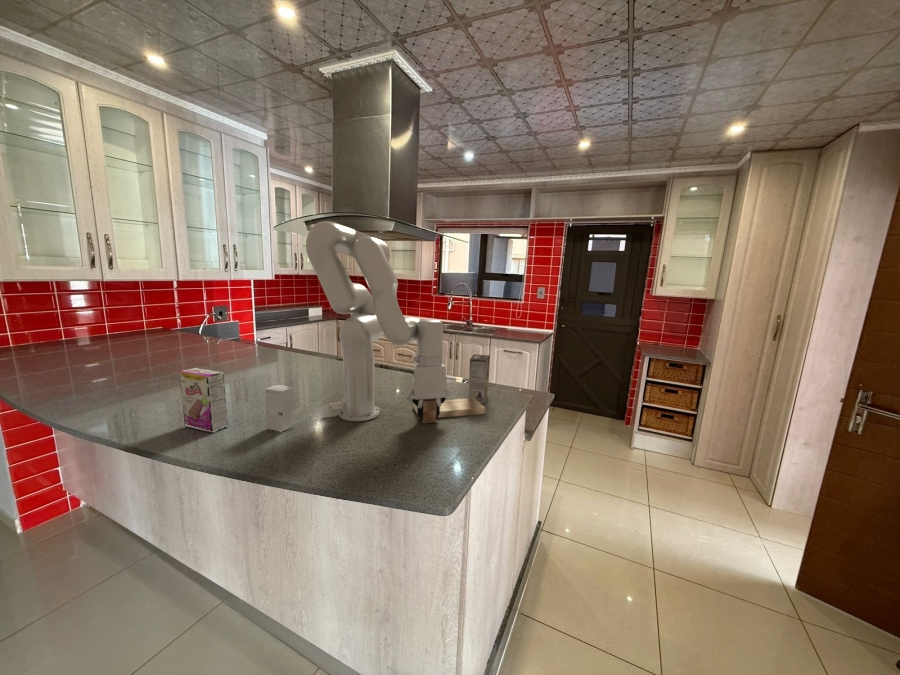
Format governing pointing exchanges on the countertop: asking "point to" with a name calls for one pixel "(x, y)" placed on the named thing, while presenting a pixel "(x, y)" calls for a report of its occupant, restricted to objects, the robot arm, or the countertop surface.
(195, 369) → the candy bar box
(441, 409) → the board
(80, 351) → the countertop surface
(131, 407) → the countertop surface
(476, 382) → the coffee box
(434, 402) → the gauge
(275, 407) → the skincare box
